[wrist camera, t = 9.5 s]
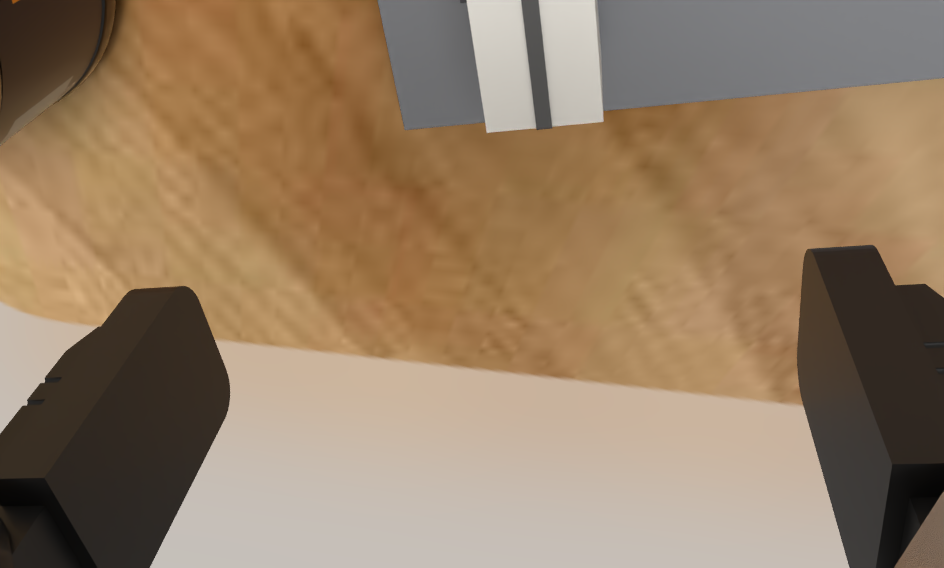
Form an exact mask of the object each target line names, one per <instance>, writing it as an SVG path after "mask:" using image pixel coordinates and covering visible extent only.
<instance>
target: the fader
mask: <svg viewBox="0 0 944 568" xmlns="http://www.w3.org/2000/svg"><path fill="white" fill-rule="evenodd" d="M467 7H468V13H469V20H470V27H471V33H472V40H473V46H474V53H475V59H476V66H477V72H478V79H479V85H480V92H481V98H482V105H483V111H484V118H485V124H486V131H487V133H490V132H501V131H512V130H522V129H533V128H536V129H537V130H539V129H550V128H552V127H554V126H565V125H575V124H586V123H596V122H604V120H603V91H602V63H601V43H600V29H599V15H598V1H597V0H467Z"/></svg>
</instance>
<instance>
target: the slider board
mask: <svg viewBox="0 0 944 568" xmlns="http://www.w3.org/2000/svg"><path fill="white" fill-rule="evenodd" d="M597 1H598V15H599V29H600V43H601V63H602V91H603V111H608V110H618V109H629V108H639V107H650V106H660V105H670V104H681V103H691V102H701V101H712V100H722V99H732V98H743V97H753V96H763V95H774V94H784V93H794V92H805V91H815V90H826V89H836V88H846V87H857V86H867V85H877V84H888V83H898V82H908V81H919V80H929V79H939V78H944V0H597ZM378 5H379V9H380V14H381V19H382V24H383V28H384V33H385V38H386V43H387V48H388V52H389V57H390V62H391V67H392V71H393V76H394V81H395V86H396V91H397V95H398V100H399V105H400V110H401V114H402V119H403V124H404V129H405V130H411V129H422V128H432V127H442V126H453V125H463V124H473V123H484V122H485V118H484V111H483V105H482V98H481V92H480V85H479V79H478V72H477V66H476V59H475V53H474V46H473V40H472V33H471V27H470V20H469V13H468V7H467V0H378Z"/></svg>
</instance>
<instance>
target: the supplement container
mask: <svg viewBox="0 0 944 568" xmlns="http://www.w3.org/2000/svg"><path fill="white" fill-rule="evenodd" d="M115 7H116V0H0V146H1V145H2V144H3V143H5V142H6V141H7V140H8V139H10V138H11V137H12V136H13V135H15V134H16V133H17V132H18V131H20V130H21V129H22V128H23V127H25V126H26V125H27V124H28V123H30V122H31V121H32V120H33V119H35V118H36V117H37V116H38V115H40V114H41V113H42V112H43V111H45V110H46V109H47V108H48V107H50V106H51V105H52V104H54V103H56V102H58V101H60V100H62V99H63V98H64V97H66V96H67V95H69V94H70V93H72V92H73V91H74V90H75V89H76V88H77V87H78V86H79V85H81V84H82V83H83V82H84V81H85V80H86V79H87V77H88V76H89V75H90V74H91V73H92V71H93V70H94V69H95V67H96V66H97V64H98V62H99V61H100V59H101V57H102V56H103V53H104V51H105V49H106V46H107V44H108V41H109V38H110V35H111V31H112V28H113V23H114V16H115Z"/></svg>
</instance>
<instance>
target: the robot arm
mask: <svg viewBox="0 0 944 568" xmlns="http://www.w3.org/2000/svg"><path fill="white" fill-rule="evenodd" d="M797 366H798V379H799V387H800V393H801V398H802V401H803V405H804V409H805V412H806V415H807V419H808V423H809V426H810V430H811V433H812V437H813V440H814V444H815V447H816V451H817V455H818V458H819V461H820V465H821V469H822V472H823V476H824V479H825V483H826V486H827V490H828V493H829V497H830V500H831V503H832V507H833V511H834V514H835V518H836V522H837V525H838V529H839V532H840V536H841V539H842V543H843V546H844V550H845V553H846V556H847V560H848V564H849V567H850V568H944V298H943V297H942V296H941V295H939V294H938V293H936V292H935V291H934V290H932V289H931V288H930V287H928V286H927V285H926V284H915V285H897V286H895V284H894V282H893V280H892V278H891V276H890V274H889V272H888V270H887V268H886V266H885V264H884V262H883V260H882V258H881V256H880V254H879V252H878V250H877V248H876V247H875V246H873V245H865V246H848V247H832V248H816V249H808V250H807V251H806V253H805V257H804V262H803V274H802V289H801V303H800V318H799V332H798V347H797ZM229 400H230V385H229V378H228V374H227V371H226V368H225V366H224V363H223V360H222V358H221V355H220V353H219V350H218V348H217V345H216V343H215V340H214V337H213V335H212V332H211V330H210V327H209V325H208V322H207V320H206V317H205V315H204V312H203V309H202V307H201V304H200V302H199V300H198V298H197V296H196V294H195V293H194V292H193V291H192V290H191V289H190V288H189V287H186V286H178V287H162V288H146V289H134V290H131V291H129V292H128V293H127V294H126V295H125V296H124V297H123V299H122V300H121V301H120V303H119V304H118V305H117V307H116V308H115V309H114V310H113V312H112V313H111V314H110V316H109V317H108V318H107V320H106V321H105V322H104V323H103V325H102V326H101V327H97V328H96V329H95V330H93V331H92V332H91V333H89V334H88V335H87V336H85V337H84V338H83V339H81V340H80V341H79V342H77V343H76V344H75V345H74V346H72V347H71V348H70V349H68V350H67V351H66V352H65V353H64V354H63V355H62V357H61V358H60V359H59V361H58V362H57V363H56V364H55V366H54V367H53V368H52V369H51V371H50V372H49V373H48V375H47V376H46V377H45V383H40V384H39V386H38V387H37V388H36V390H35V391H34V392H33V393H32V395H31V396H30V397H29V398H28V400H27V401H28V404H27V406H22V407H21V409H20V410H19V411H18V412H17V413H16V415H15V416H14V417H13V419H12V420H11V421H10V422H9V424H8V425H7V426H6V427H5V429H4V430H3V431H2V433H1V434H0V568H150V566H151V564H152V562H153V560H154V558H155V556H156V554H157V552H158V550H159V548H160V546H161V544H162V542H163V540H164V538H165V536H166V534H167V532H168V530H169V528H170V526H171V524H172V522H173V520H174V518H175V516H176V514H177V512H178V510H179V508H180V506H181V504H182V502H183V500H184V498H185V496H186V494H187V492H188V490H189V488H190V487H191V484H192V482H193V481H194V479H195V477H196V475H197V473H198V470H199V469H200V467H201V465H202V463H203V461H204V459H205V457H206V455H207V453H208V451H209V449H210V447H211V445H212V443H213V441H214V439H215V437H216V435H217V433H218V431H219V429H220V427H221V425H222V423H223V421H224V419H225V417H226V414H227V411H228V407H229Z"/></svg>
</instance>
